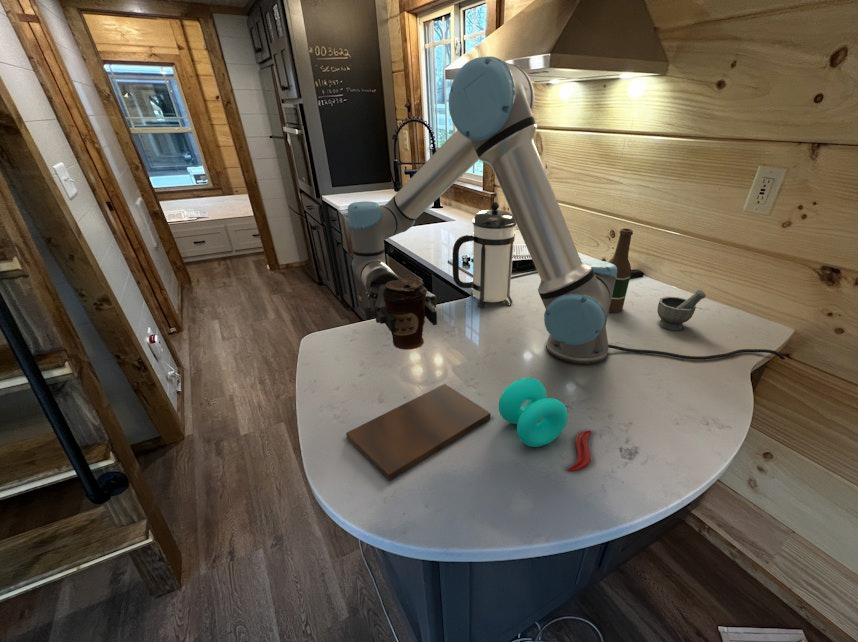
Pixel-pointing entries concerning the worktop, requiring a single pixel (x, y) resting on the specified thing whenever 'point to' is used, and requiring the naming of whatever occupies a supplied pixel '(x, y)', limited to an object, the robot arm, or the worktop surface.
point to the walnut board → (416, 430)
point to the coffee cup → (406, 311)
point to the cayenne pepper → (581, 451)
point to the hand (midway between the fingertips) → (414, 322)
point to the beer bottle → (621, 270)
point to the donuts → (533, 412)
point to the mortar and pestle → (677, 310)
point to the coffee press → (489, 255)
